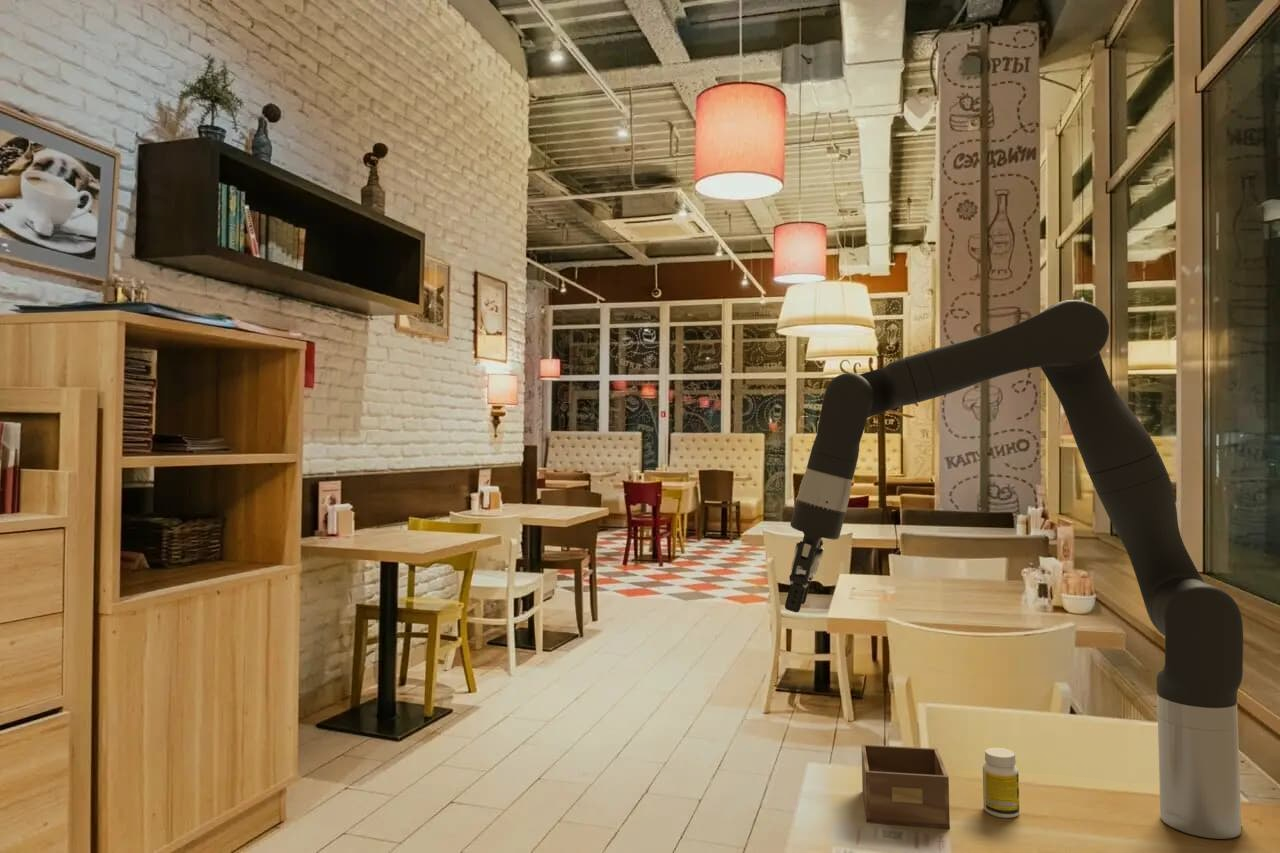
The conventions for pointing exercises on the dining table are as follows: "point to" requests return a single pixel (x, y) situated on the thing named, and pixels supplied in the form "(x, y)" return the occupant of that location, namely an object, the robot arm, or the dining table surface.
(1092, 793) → the dining table surface
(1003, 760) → the supplement bottle
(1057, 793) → the dining table surface
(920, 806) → the wooden box
